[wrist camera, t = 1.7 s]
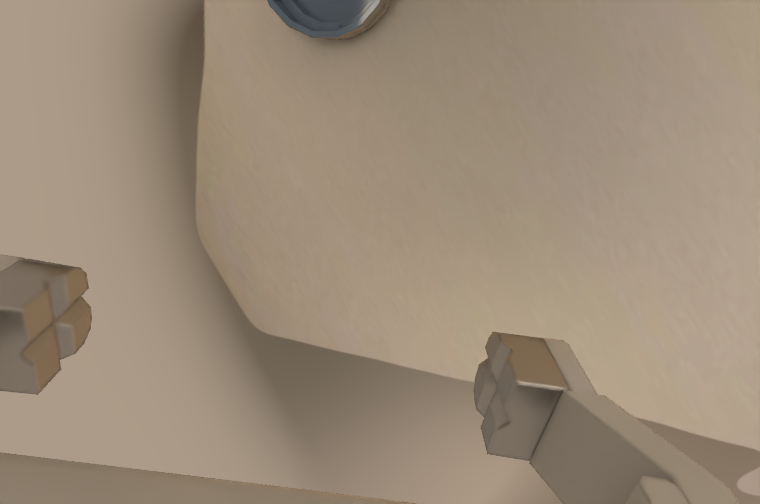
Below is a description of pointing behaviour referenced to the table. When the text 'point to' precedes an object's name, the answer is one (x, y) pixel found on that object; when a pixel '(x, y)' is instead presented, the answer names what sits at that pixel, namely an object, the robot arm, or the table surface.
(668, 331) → the table surface
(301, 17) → the bowl
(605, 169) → the table surface
